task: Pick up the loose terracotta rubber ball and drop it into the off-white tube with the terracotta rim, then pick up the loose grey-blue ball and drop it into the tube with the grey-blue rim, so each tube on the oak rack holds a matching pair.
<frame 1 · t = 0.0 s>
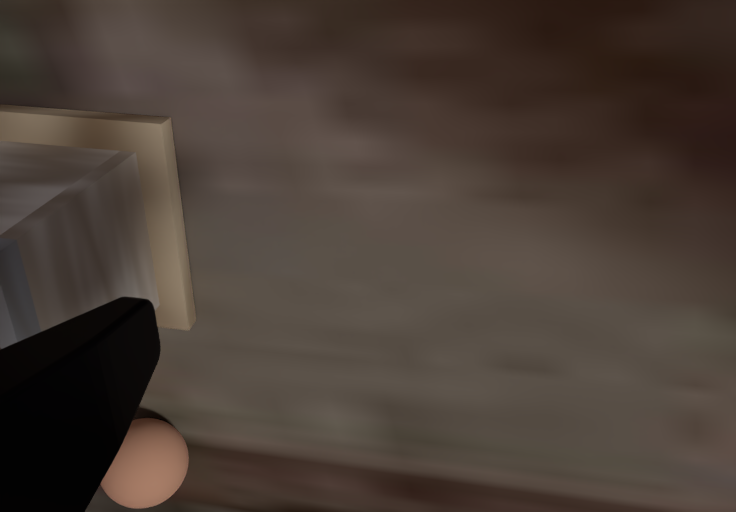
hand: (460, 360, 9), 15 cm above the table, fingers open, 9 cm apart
terracotta ball: (162, 431, 32), on the table
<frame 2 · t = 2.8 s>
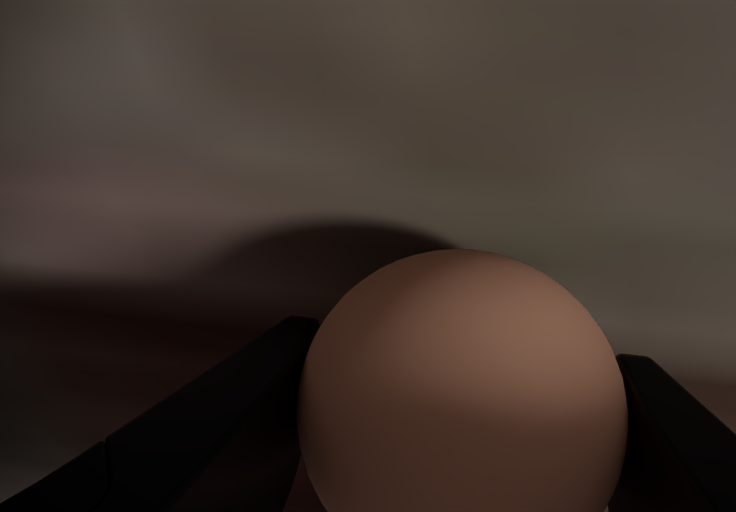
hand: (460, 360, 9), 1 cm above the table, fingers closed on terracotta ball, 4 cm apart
terracotta ball: (462, 318, 10), on the table, touching gripper
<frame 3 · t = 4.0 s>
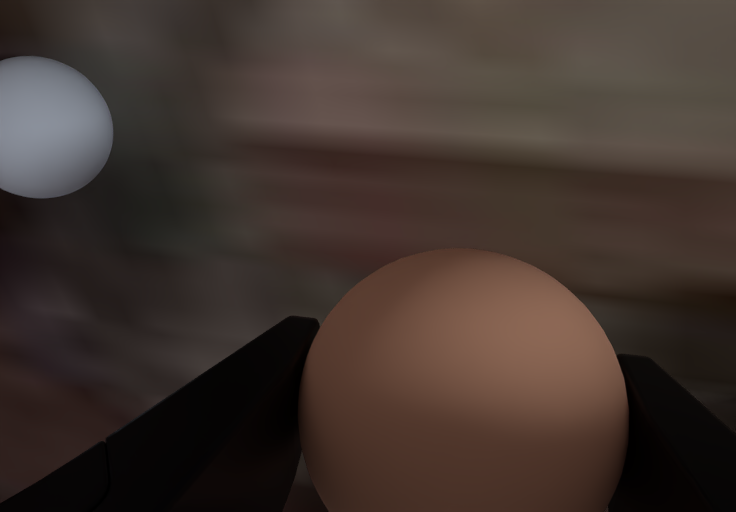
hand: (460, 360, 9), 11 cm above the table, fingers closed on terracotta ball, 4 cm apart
grey ball: (76, 108, 21), on the table
terracotta ball: (463, 317, 10), point 10 cm above the table, touching gripper
when the fingers open (11 cm above the table, at t = 5.1 s): terracotta ball drops 5 cm, resting on terracotta ball in tube.
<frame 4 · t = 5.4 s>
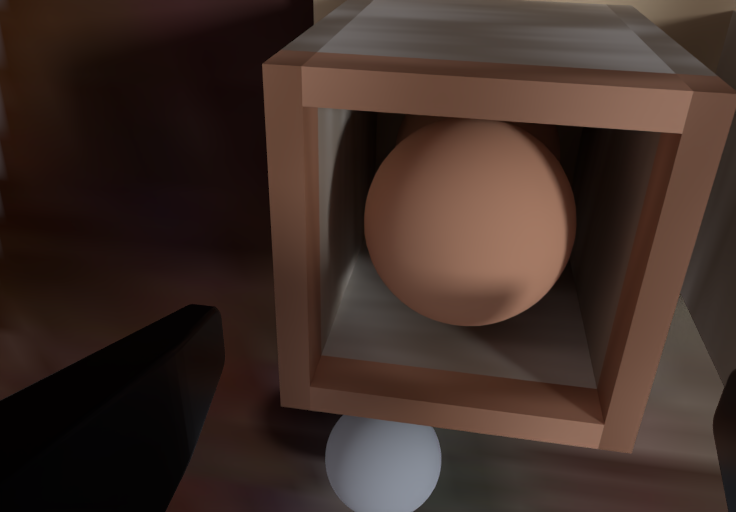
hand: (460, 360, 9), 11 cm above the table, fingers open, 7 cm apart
terracotta ball in tube: (476, 129, 18), point 1 cm above the table, touching terracotta ball, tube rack
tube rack: (643, 132, 18), on the table
grey ball: (390, 417, 24), on the table
terracotta ball: (473, 187, 14), point 5 cm above the table, touching terracotta ball in tube
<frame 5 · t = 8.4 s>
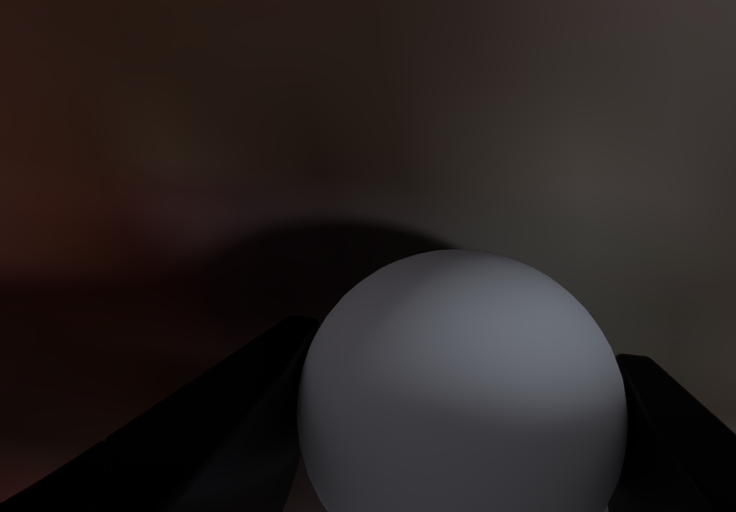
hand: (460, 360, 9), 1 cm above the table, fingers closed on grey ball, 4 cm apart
grey ball: (462, 318, 10), on the table, touching gripper
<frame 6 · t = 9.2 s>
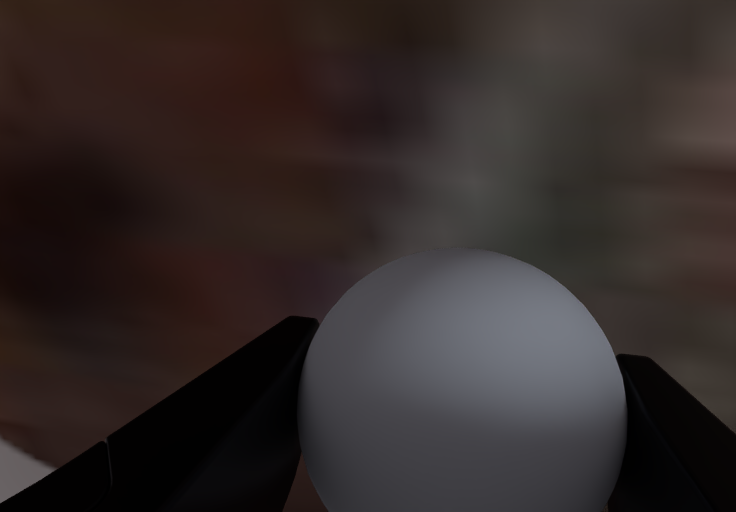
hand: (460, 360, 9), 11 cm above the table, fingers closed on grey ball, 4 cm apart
grey ball: (462, 317, 10), point 10 cm above the table, touching gripper
when the fingers open (11 cm above the table, at t = 10.5 s): grey ball drops 5 cm, resting on grey ball in tube.
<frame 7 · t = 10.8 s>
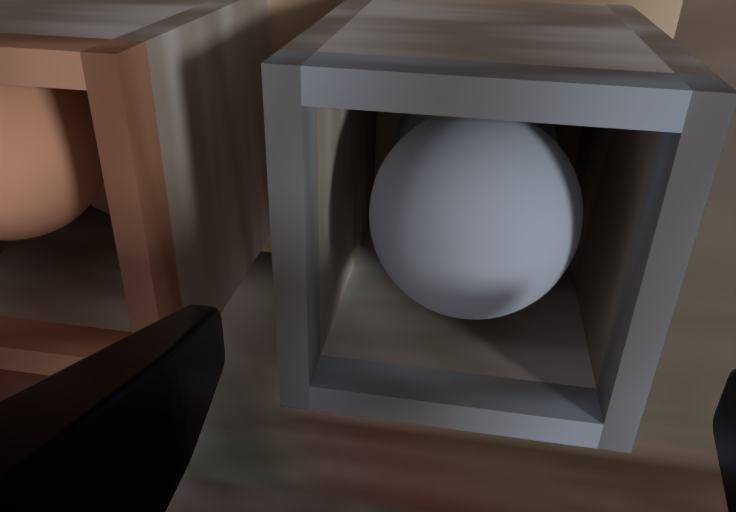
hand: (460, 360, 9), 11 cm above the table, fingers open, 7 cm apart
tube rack: (321, 109, 19), on the table
grey ball: (471, 188, 14), point 5 cm above the table, tilted 9°, touching grey ball in tube
terracotta ball: (84, 187, 15), point 5 cm above the table, tilted 53°, touching terracotta ball in tube, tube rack
grey ball in tube: (476, 129, 18), point 1 cm above the table, touching grey ball, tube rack
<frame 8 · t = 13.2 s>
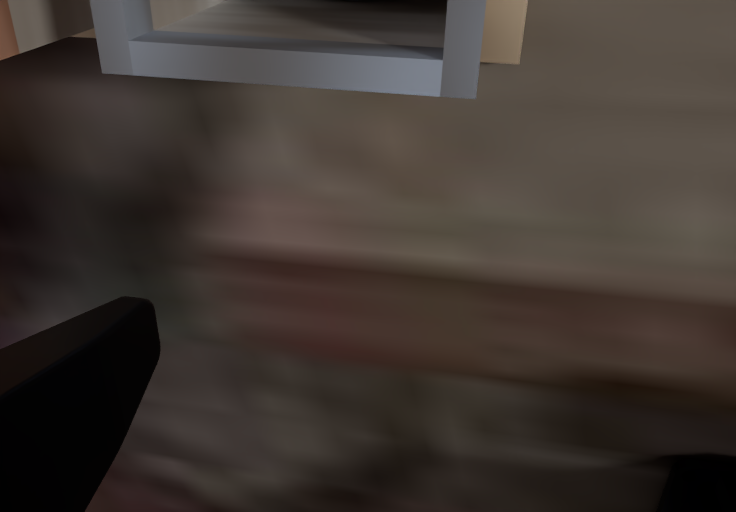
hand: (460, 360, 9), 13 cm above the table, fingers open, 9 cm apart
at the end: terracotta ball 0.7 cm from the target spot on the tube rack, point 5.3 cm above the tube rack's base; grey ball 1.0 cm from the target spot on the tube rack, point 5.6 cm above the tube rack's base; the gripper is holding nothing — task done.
